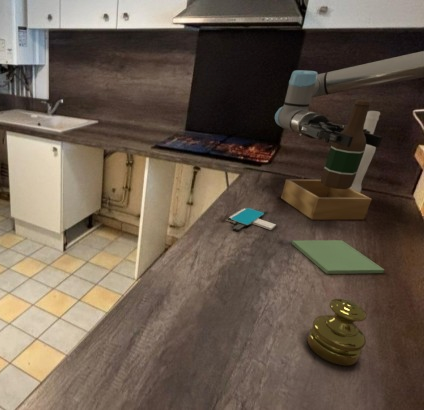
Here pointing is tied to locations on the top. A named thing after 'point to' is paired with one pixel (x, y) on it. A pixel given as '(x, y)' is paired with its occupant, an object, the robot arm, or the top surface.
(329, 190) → the open wooden box
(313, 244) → the mat
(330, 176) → the beer bottle
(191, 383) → the top surface
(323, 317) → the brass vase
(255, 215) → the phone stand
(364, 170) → the bottle
